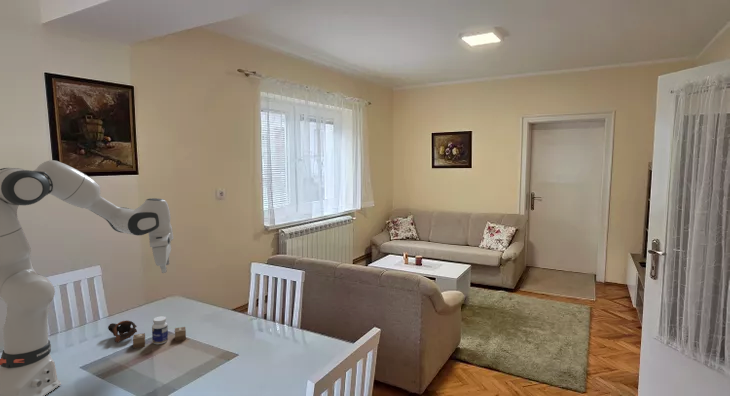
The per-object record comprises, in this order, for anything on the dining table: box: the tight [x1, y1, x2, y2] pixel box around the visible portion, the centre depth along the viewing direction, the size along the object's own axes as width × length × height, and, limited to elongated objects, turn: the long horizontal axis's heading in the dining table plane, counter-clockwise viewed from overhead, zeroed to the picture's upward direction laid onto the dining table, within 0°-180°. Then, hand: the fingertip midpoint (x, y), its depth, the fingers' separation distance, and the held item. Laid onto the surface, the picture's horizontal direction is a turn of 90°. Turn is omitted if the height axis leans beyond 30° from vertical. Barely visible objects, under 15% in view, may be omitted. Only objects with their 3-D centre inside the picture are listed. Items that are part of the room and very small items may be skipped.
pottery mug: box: [107, 320, 138, 344], centre depth 167 cm, size 12×10×8 cm
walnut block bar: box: [174, 326, 187, 342], centre depth 168 cm, size 4×4×4 cm
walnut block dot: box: [132, 332, 146, 349], centre depth 161 cm, size 4×4×4 cm
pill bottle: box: [151, 315, 169, 345], centre depth 164 cm, size 6×6×10 cm
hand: (165, 268), depth 167 cm, fingers open, 8 cm apart
